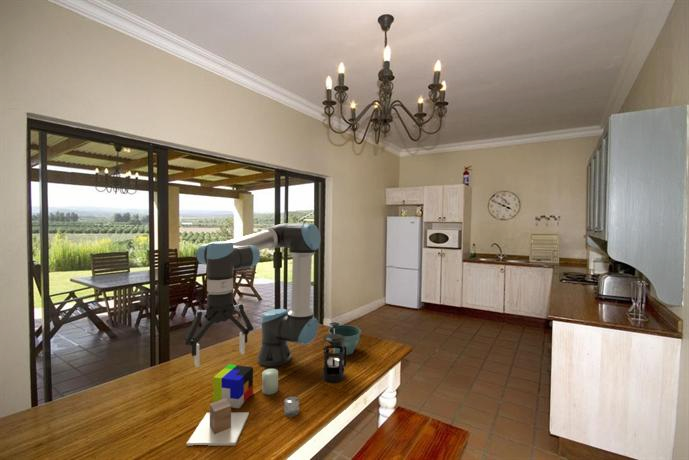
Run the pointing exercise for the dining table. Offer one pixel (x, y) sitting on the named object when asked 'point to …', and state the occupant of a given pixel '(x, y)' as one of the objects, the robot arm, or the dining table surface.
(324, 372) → the french press
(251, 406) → the dining table surface
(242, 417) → the plate
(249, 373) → the puzzle toy
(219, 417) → the walnut block
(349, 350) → the flower pot
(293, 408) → the grey tin
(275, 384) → the pale green egg
